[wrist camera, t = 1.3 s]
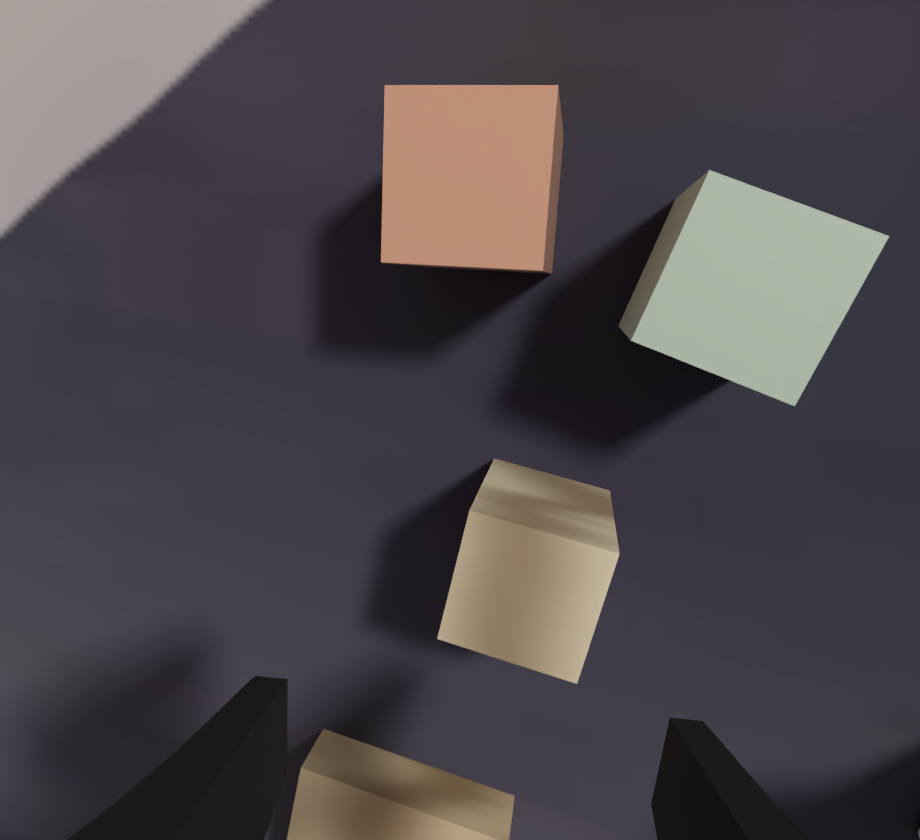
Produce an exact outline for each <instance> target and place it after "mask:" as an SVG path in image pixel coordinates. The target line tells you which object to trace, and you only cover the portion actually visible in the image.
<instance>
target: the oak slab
mask: <svg viewBox="0 0 920 840" xmlns="http://www.w3.org/2000/svg"><path fill="white" fill-rule="evenodd" d="M514 797H515V796H513V795H510V794H507V793H505V792H502V791H499V790H496V789H493V788H490V787H488V786H485V785H482V784H479V783H476V782H473V781H471V780H468V779H465V778H462V777H459V776H456V775H454V774H451V773H448V772H445V771H442V770H439V769H437V768H434V767H431V766H428V765H425V764H422V763H419V762H417V761H414V760H411V759H408V758H405V757H402V756H400V755H397V754H394V753H391V752H388V751H385V750H383V749H380V748H377V747H374V746H371V745H368V744H366V743H363V742H360V741H357V740H354V739H351V738H349V737H346V736H343V735H340V734H337V733H334V732H332V731H329V730H326V729H323V730H322V732H321V734H320V735H319V737H318V739H317V741H316V742H315V744H314V746H313V747H312V749H311V751H310V753H309V754H308V756H307V758H306V760H305V761H304V763H303V765H302V767H301V770H300V775H299V780H298V785H297V790H296V795H295V800H294V805H293V810H292V815H291V820H290V825H289V830H288V835H287V840H509V836H510V828H511V820H512V812H513V804H514Z"/></svg>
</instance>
